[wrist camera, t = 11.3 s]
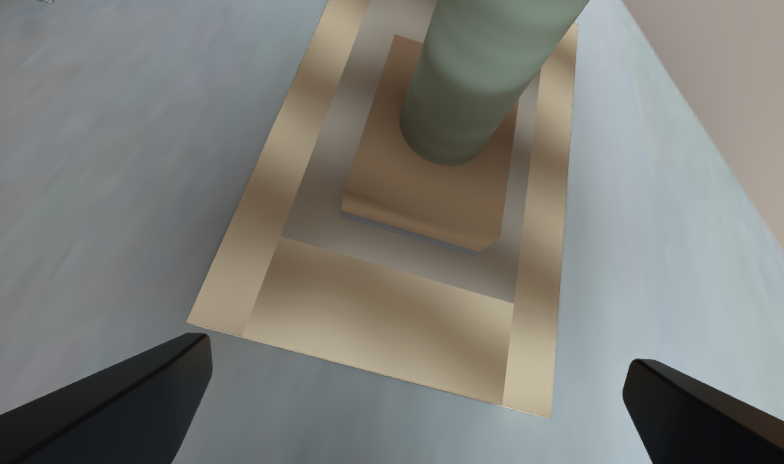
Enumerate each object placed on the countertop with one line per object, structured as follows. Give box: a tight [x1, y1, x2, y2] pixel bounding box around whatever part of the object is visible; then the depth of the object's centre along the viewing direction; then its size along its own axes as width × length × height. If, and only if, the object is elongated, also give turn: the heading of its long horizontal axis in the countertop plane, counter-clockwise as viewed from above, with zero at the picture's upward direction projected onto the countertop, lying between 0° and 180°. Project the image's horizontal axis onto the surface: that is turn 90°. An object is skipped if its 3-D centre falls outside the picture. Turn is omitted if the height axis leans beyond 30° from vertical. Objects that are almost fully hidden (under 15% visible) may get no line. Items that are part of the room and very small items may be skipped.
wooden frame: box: [186, 0, 578, 418], centre depth 19 cm, size 22×14×1 cm, turn 166°
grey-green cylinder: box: [340, 0, 590, 256], centre depth 13 cm, size 8×6×11 cm
